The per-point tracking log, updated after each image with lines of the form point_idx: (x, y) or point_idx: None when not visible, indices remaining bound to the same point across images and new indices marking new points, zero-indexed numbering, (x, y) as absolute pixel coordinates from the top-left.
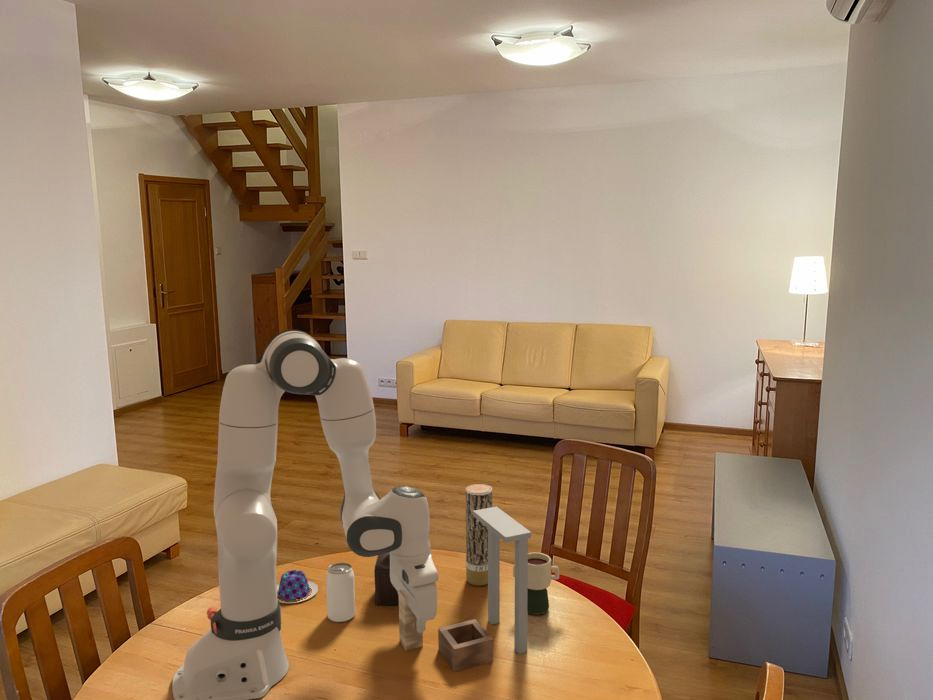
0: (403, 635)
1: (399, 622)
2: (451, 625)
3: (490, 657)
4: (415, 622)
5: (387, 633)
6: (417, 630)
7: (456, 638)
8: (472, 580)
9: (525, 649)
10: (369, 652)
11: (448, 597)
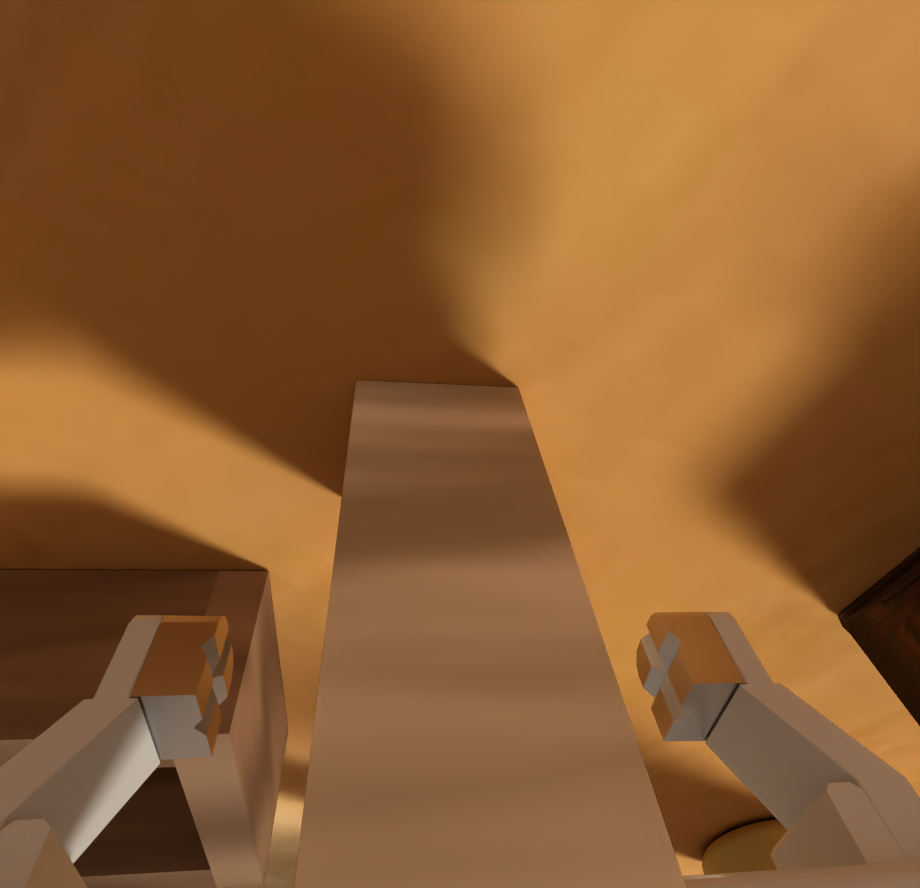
0: (408, 450)
1: (549, 507)
2: (233, 796)
3: None
4: (187, 698)
5: (693, 342)
6: (126, 634)
7: None
8: (759, 851)
9: None
10: (508, 26)
11: None
